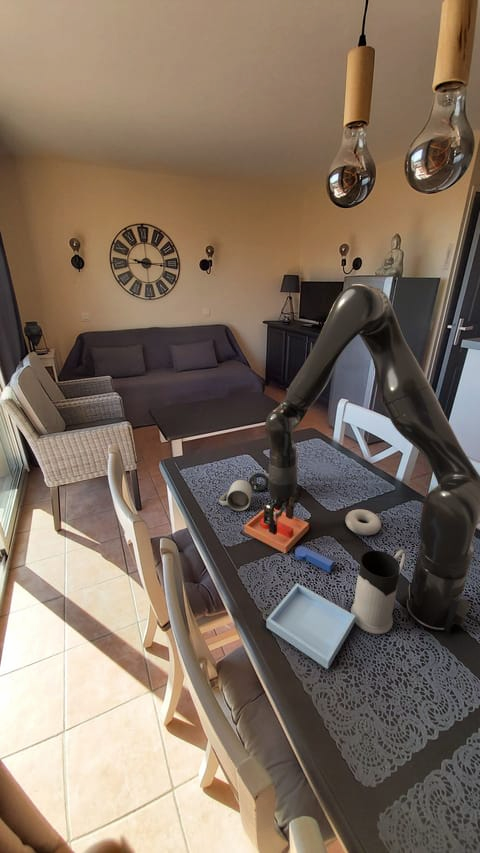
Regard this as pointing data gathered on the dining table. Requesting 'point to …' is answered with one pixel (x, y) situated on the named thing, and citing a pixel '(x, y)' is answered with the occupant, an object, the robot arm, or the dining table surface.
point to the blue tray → (311, 624)
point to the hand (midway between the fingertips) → (281, 525)
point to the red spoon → (280, 528)
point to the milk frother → (266, 479)
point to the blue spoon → (314, 558)
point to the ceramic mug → (238, 496)
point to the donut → (363, 528)
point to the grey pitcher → (376, 590)
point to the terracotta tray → (277, 540)
